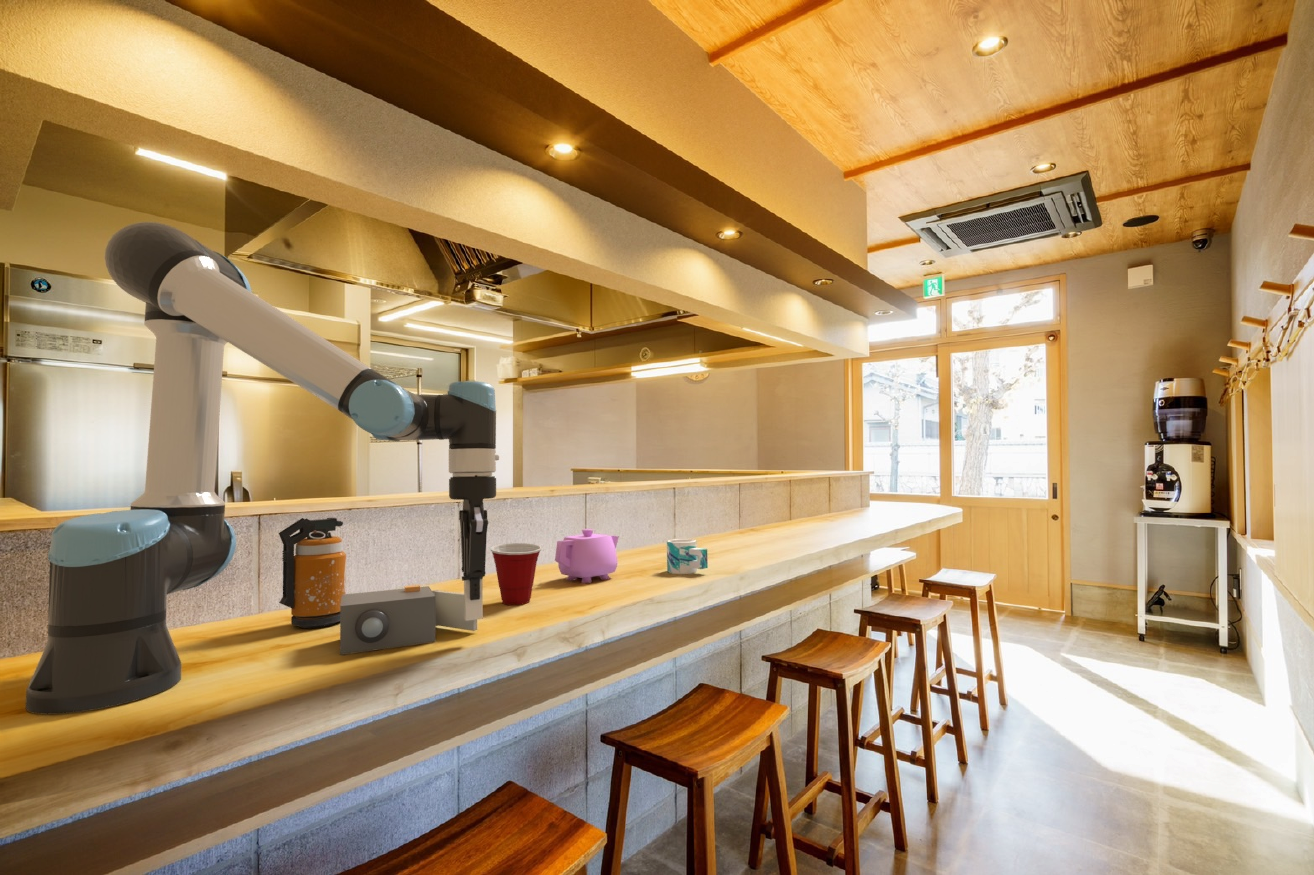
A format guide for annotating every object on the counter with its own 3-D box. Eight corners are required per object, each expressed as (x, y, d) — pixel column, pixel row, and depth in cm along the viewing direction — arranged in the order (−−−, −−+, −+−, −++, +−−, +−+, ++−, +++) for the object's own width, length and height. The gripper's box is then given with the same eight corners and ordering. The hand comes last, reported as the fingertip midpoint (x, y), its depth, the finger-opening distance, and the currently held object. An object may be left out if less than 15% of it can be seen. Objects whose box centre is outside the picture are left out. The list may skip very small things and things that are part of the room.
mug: (682, 568, 171) (682, 537, 171) (714, 572, 162) (714, 541, 162) (661, 571, 165) (660, 540, 165) (693, 577, 156) (692, 544, 157)
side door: (474, 632, 105) (474, 596, 105) (430, 625, 110) (430, 591, 111) (481, 630, 106) (480, 594, 107) (436, 623, 112) (436, 589, 112)
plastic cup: (504, 611, 122) (504, 550, 123) (482, 602, 131) (481, 546, 131) (552, 602, 129) (551, 545, 130) (527, 594, 138) (527, 541, 138)
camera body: (339, 658, 93) (340, 603, 94) (341, 639, 104) (341, 589, 104) (437, 644, 99) (437, 593, 100) (429, 628, 110) (429, 581, 110)
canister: (353, 622, 115) (353, 516, 116) (287, 635, 107) (288, 520, 108) (335, 615, 121) (336, 514, 122) (271, 626, 113) (273, 518, 114)
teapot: (573, 587, 145) (572, 534, 146) (542, 581, 154) (542, 531, 154) (634, 576, 159) (633, 527, 160) (602, 571, 168) (602, 524, 169)
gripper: (504, 474, 97) (505, 624, 96) (488, 474, 109) (489, 608, 108) (454, 475, 94) (455, 631, 93) (444, 475, 106) (444, 613, 105)
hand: (473, 618), depth 100 cm, fingers closed
